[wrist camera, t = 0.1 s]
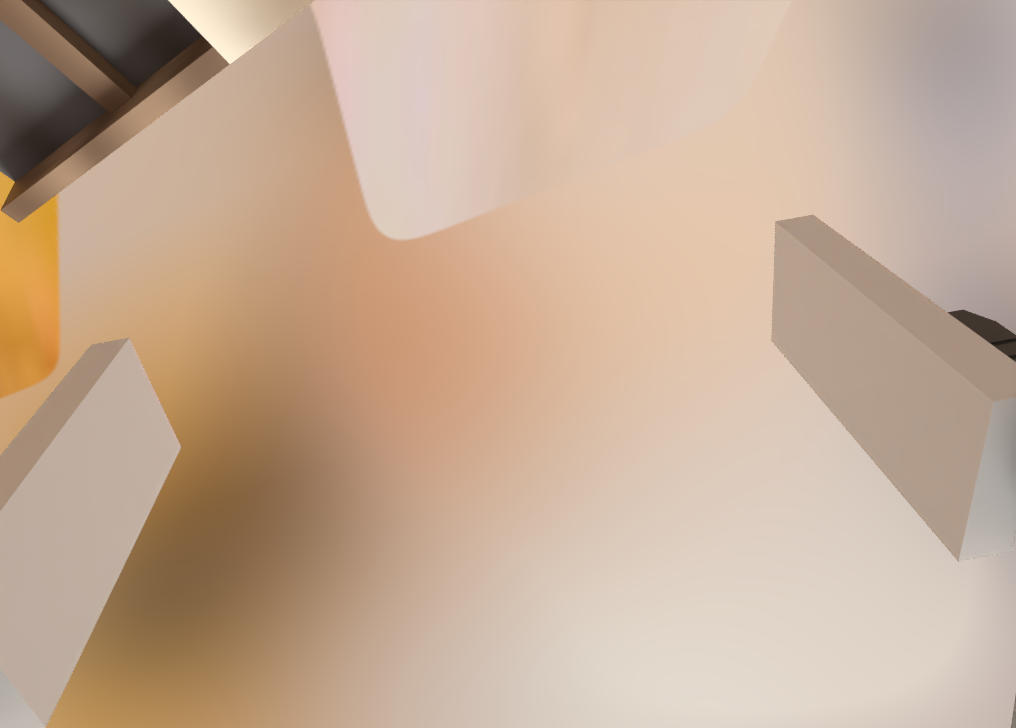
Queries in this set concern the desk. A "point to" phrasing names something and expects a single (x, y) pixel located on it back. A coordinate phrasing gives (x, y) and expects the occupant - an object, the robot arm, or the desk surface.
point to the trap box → (87, 85)
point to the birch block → (237, 21)
